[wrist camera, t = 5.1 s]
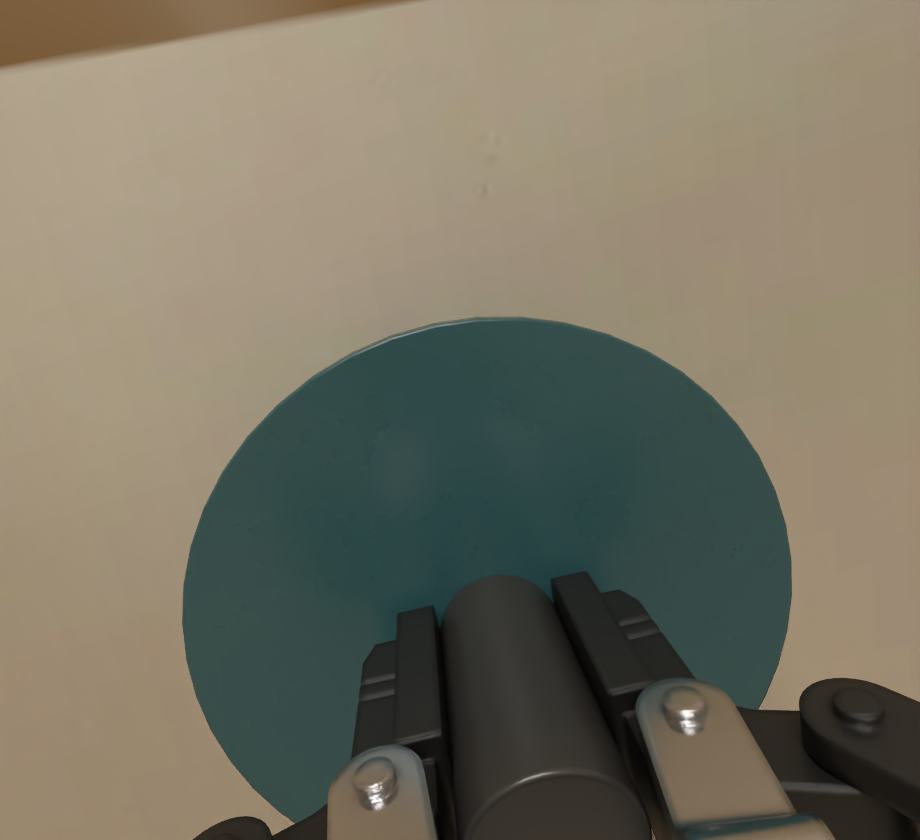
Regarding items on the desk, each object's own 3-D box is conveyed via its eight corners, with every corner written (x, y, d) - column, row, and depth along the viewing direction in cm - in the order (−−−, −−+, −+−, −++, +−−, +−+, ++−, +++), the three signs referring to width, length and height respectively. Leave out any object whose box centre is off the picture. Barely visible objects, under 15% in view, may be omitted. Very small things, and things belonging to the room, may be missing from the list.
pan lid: (118, 387, 12) (-189, 493, 6) (736, 257, 12) (1055, 227, 6) (288, 885, 14) (203, 1305, 8) (783, 766, 15) (1032, 1087, 9)
